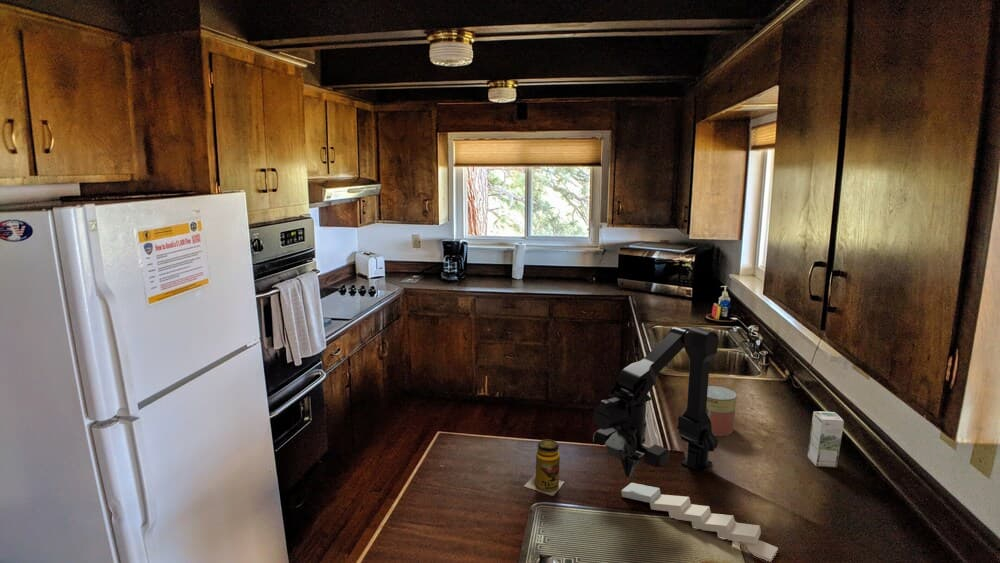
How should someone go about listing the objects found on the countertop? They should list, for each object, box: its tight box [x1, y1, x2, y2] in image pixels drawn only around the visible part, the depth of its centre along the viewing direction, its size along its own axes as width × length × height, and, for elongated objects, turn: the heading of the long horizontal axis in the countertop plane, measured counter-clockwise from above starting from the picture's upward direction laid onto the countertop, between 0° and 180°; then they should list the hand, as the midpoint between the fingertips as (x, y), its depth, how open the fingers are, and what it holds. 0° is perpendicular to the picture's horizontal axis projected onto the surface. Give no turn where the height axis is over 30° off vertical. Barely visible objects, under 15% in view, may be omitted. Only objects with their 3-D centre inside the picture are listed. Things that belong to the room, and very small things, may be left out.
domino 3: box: [668, 503, 712, 523], centre depth 131 cm, size 5×2×8 cm
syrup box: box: [807, 410, 845, 468], centre depth 157 cm, size 6×6×14 cm
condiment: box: [523, 438, 565, 497], centre depth 144 cm, size 7×8×12 cm
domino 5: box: [716, 522, 762, 544], centre depth 124 cm, size 5×2×8 cm
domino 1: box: [621, 482, 661, 504], centre depth 140 cm, size 5×2×8 cm
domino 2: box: [649, 494, 692, 513], centre depth 134 cm, size 5×2×8 cm
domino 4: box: [691, 512, 736, 533], centre depth 127 cm, size 5×2×8 cm
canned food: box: [706, 385, 738, 437], centre depth 178 cm, size 11×11×12 cm
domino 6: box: [731, 539, 779, 563], centre depth 121 cm, size 5×2×8 cm
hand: (628, 476), depth 141 cm, fingers closed
